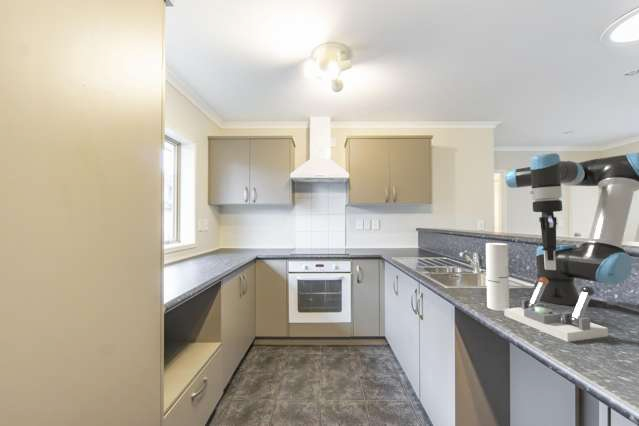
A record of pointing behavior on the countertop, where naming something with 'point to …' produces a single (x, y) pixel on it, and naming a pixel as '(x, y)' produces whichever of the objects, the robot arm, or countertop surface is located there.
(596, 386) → the countertop surface
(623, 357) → the countertop surface
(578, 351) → the countertop surface
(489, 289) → the cylindrical container
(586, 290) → the lever
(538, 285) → the lever
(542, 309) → the button
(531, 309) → the panel
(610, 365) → the countertop surface
